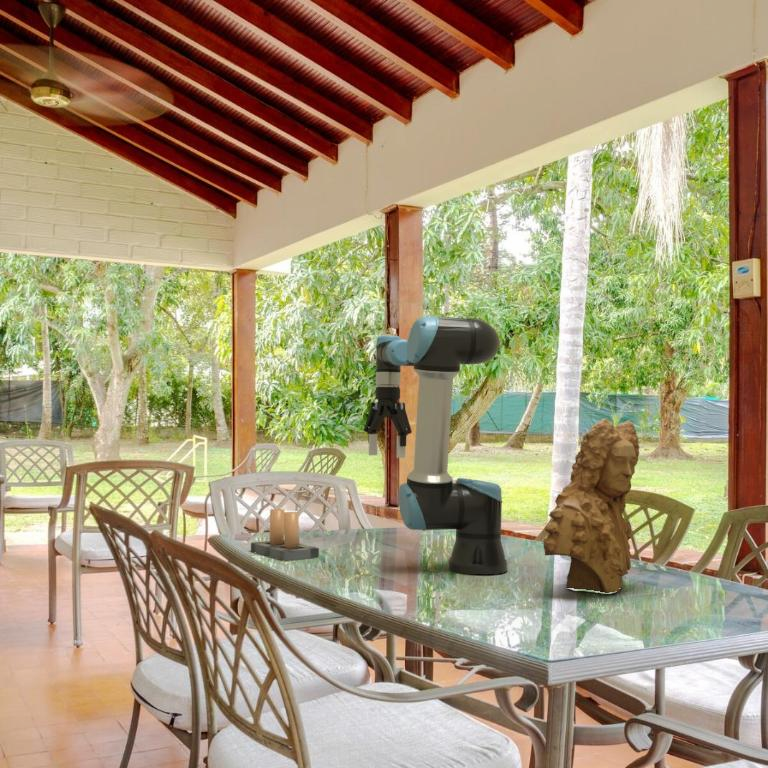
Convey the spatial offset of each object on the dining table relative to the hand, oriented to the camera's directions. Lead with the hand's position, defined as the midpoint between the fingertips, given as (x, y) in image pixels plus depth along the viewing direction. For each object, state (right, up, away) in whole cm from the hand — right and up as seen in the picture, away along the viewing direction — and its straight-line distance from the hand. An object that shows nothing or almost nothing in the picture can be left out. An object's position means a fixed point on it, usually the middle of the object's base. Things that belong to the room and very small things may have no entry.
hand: (386, 456), depth 262 cm
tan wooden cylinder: (-26, -25, -25) cm, 44 cm away
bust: (+49, -26, -60) cm, 82 cm away
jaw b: (-31, -26, -18) cm, 44 cm away
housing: (-29, -26, -22) cm, 44 cm away
